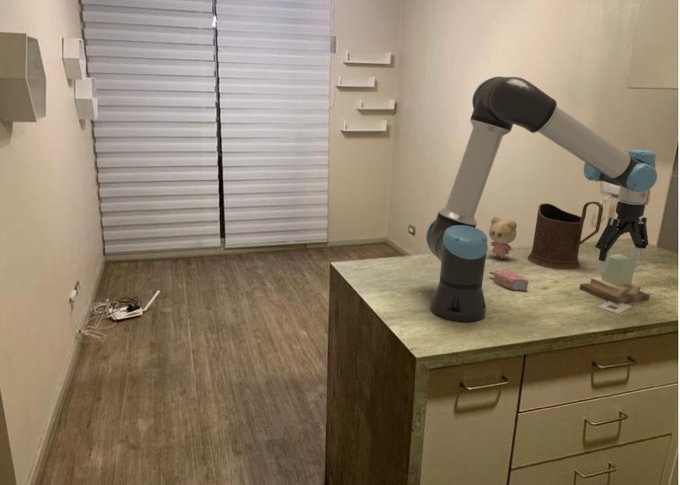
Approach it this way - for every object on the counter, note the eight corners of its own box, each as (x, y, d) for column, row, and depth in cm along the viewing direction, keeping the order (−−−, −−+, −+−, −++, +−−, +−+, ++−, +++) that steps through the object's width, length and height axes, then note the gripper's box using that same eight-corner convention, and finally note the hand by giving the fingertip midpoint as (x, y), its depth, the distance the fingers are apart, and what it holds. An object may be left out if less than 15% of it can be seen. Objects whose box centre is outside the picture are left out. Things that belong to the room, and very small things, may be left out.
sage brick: (617, 286, 165) (622, 261, 163) (601, 279, 171) (605, 255, 168) (631, 284, 168) (636, 259, 166) (614, 277, 173) (619, 254, 171)
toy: (481, 256, 202) (486, 217, 198) (494, 252, 208) (499, 214, 204) (504, 263, 195) (509, 223, 191) (517, 259, 201) (522, 220, 196)
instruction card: (618, 314, 155) (618, 312, 155) (597, 307, 159) (597, 305, 159) (631, 307, 160) (632, 305, 160) (611, 300, 165) (611, 299, 165)
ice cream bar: (498, 265, 181) (533, 278, 169) (496, 277, 182) (531, 291, 170) (484, 267, 178) (519, 281, 166) (482, 279, 179) (517, 294, 167)
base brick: (616, 305, 161) (619, 292, 160) (579, 288, 174) (581, 276, 172) (648, 299, 167) (651, 287, 166) (610, 283, 179) (612, 272, 178)
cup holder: (547, 251, 213) (557, 188, 206) (604, 269, 194) (617, 201, 187) (516, 257, 203) (525, 192, 196) (574, 277, 184) (587, 205, 177)
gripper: (612, 206, 154) (598, 276, 160) (670, 203, 164) (655, 269, 170) (591, 200, 160) (578, 268, 166) (648, 198, 170) (634, 261, 176)
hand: (617, 269), depth 168 cm, fingers open, 13 cm apart
